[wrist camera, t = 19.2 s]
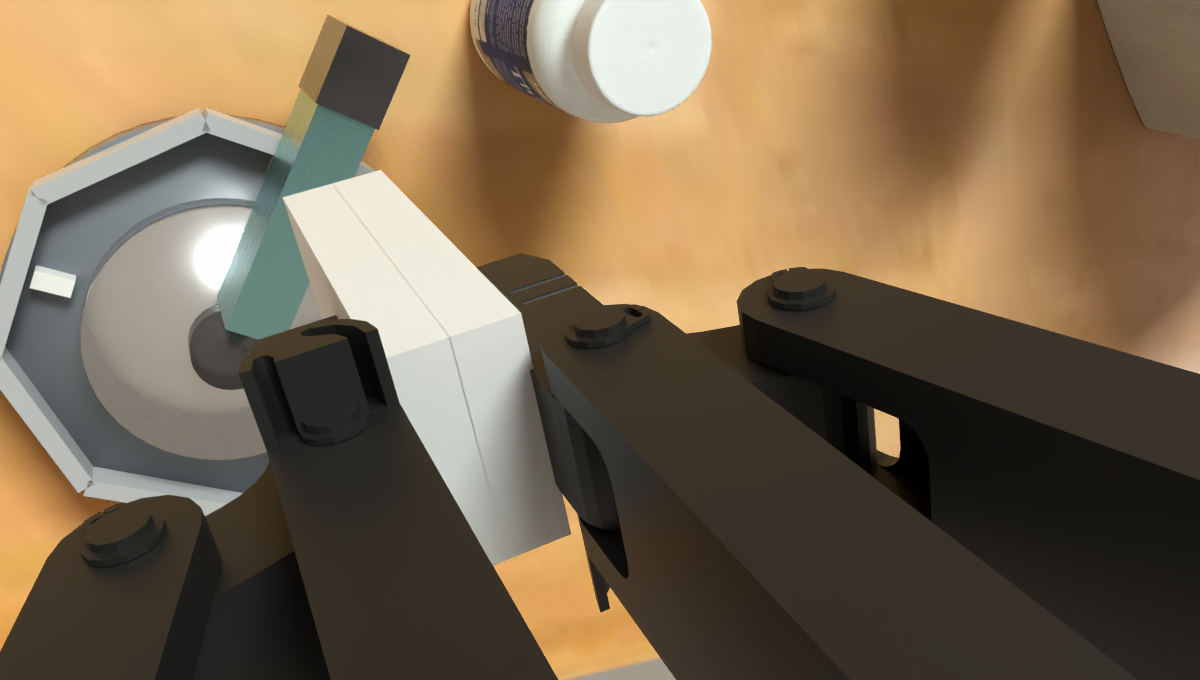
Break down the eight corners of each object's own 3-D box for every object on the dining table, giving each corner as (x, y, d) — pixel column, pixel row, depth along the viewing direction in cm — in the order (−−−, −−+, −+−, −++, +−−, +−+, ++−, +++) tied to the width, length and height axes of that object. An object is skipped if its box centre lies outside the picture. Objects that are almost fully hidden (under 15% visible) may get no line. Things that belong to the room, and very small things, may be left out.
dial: (300, 468, 40) (321, 531, 36) (42, 404, 35) (33, 468, 31) (469, 81, 37) (511, 103, 33) (212, -41, 33) (226, -32, 29)
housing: (467, 190, 40) (485, 205, 38) (343, 513, 43) (354, 542, 41) (65, 50, 33) (62, 59, 31) (-50, 444, 36) (-60, 475, 34)
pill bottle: (452, 75, 38) (546, 124, 30) (482, -80, 37) (589, -73, 29) (586, 103, 41) (707, 155, 33) (619, -41, 39) (755, -25, 31)
